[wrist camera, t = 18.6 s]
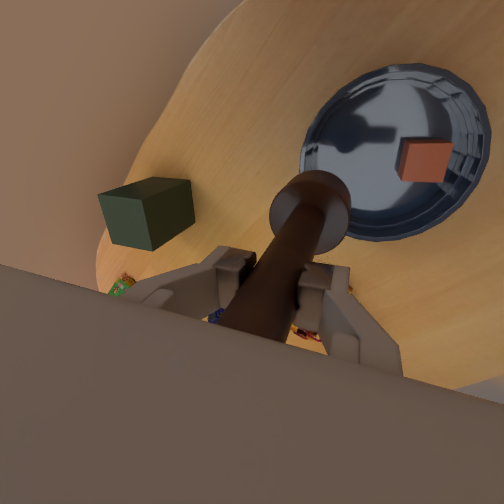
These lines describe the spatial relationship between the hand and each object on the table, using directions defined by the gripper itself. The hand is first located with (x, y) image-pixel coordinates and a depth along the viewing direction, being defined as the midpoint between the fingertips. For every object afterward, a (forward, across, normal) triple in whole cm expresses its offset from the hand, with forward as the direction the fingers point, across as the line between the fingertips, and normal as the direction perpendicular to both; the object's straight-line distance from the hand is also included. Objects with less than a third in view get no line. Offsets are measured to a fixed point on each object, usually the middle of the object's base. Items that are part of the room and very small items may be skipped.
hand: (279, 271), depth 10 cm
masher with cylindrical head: (+9, 0, 0) cm, 9 cm away
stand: (+30, +28, +9) cm, 42 cm away
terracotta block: (+29, -9, 0) cm, 31 cm away
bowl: (+30, -5, 0) cm, 31 cm away
